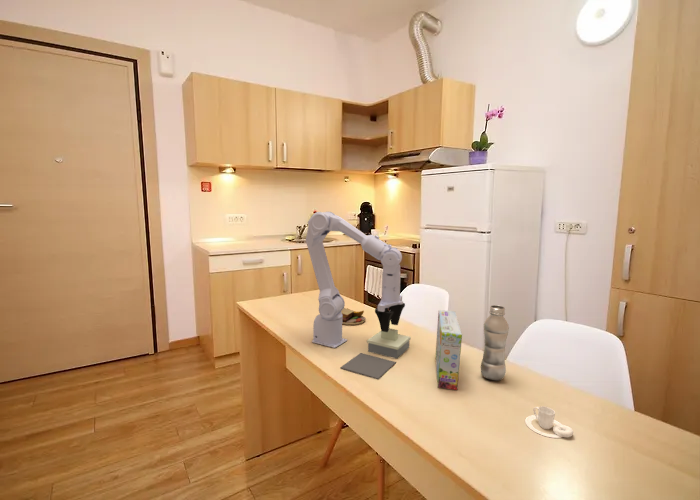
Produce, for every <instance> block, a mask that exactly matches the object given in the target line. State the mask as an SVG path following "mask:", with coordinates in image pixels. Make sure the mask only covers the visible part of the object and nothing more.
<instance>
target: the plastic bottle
mask: <svg viewBox="0 0 700 500" xmlns="http://www.w3.org/2000/svg"><path fill="white" fill-rule="evenodd" d="M489 307H490V308H489V316H488V317H487V318H486V319H485V321H484V322H483V334H484V335H483V338H484V346H483V347H484V348H483V355H482V359H481V364H480V373H481V374H482V376H483V377H484V378H485V379H486V380H487V379H488V380H490V381H497V382H498V381H501V380H503V379H504V378H505V376H506V372H507V368H506V367H507V366H506V356H505V355H506V346H507V345H506V343H507V339H508V335H509V331H510V327H509V324H508V321H507V320H506V318H505V314H506V313H505V310H506V309H505V306H502V305H498V304H495V305H494V304H493V305H490V306H489Z"/></svg>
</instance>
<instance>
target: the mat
mask: <svg viewBox="0 0 700 500" xmlns="http://www.w3.org/2000/svg"><path fill="white" fill-rule="evenodd" d="M396 364H397V361H394V360H390V359H386V358H381V357H379V356H374V355H371V354H367V353H364V352H359V354H357V355H356V356H354V357H353V358H352V359H350V360H349V361H347V362H346V363H344V364H343V365H342V366H340V370H344V371H348V372H350V373H354V374H358V375H361V376H365V377H368V378H371V379H373V380H380V379H381V378H383V376H384V375H385V374H387V372H389V370H390V369H392V368H393V367H394V366H395V365H396Z"/></svg>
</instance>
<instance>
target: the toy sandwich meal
mask: <svg viewBox="0 0 700 500" xmlns="http://www.w3.org/2000/svg"><path fill="white" fill-rule="evenodd" d="M341 313H342V315H343V319H342V324H343V325H342V326H357V325H361V324H363V323H364V322H365V321H366V317H365V316H363V315H364V313H365V311H364V310H361V311H356V310H351V309H349V308H346V307H344V308H343V310H342V311H341Z"/></svg>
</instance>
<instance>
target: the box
mask: <svg viewBox="0 0 700 500" xmlns="http://www.w3.org/2000/svg"><path fill="white" fill-rule="evenodd" d="M409 349H410V340H409V341H408V342H407V343H405V344H404V345H403V346H402V347H401V348H400V349H398V350H396V349H392V348H388V347H383V346H379V345H375V344H371V343H367V352H369V353H372V354H377V355H382V356H385V357H389V358H393V359H397V360H398V358H400V357H401V356H402V355H403V354H404V353H405V352H406V351H407V350H409Z"/></svg>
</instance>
